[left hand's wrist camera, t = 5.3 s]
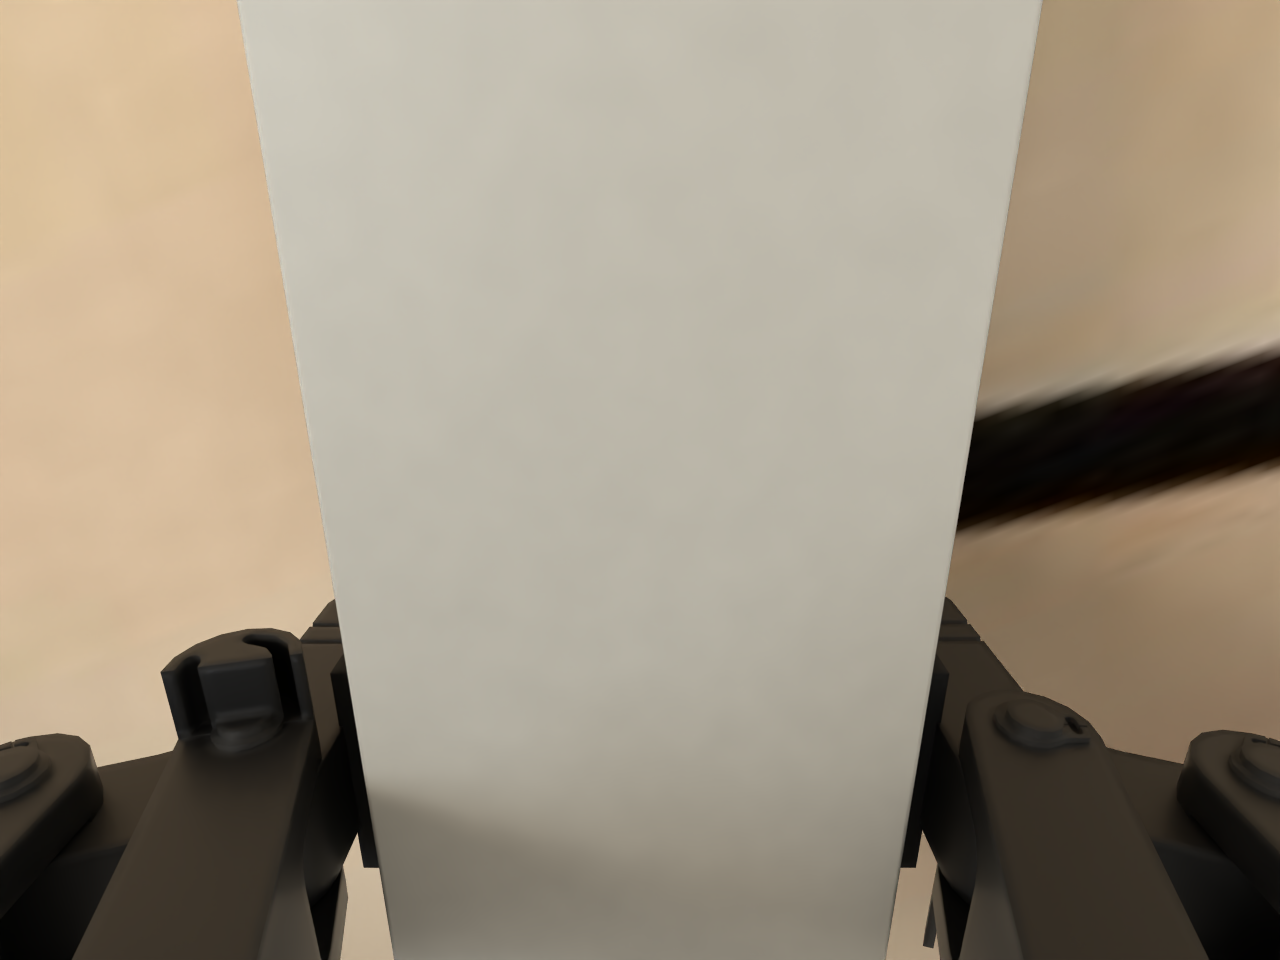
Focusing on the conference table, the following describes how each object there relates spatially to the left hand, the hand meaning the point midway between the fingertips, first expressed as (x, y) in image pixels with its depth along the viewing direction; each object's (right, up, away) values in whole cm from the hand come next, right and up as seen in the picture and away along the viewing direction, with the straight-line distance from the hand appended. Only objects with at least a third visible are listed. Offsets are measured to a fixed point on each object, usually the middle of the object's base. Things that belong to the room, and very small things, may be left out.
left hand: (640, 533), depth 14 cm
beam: (0, +28, -10) cm, 30 cm away
